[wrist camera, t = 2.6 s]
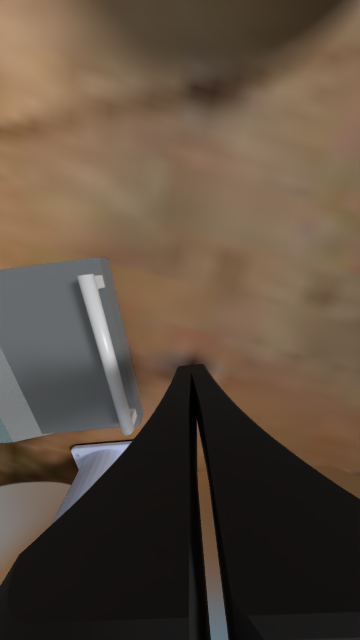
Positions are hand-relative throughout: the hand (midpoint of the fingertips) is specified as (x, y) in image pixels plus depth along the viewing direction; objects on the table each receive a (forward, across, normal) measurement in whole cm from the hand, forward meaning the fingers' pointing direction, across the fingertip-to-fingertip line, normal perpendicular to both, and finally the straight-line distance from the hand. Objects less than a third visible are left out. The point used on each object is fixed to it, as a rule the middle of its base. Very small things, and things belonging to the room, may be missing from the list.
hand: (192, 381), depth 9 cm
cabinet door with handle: (+7, +10, 0) cm, 12 cm away
